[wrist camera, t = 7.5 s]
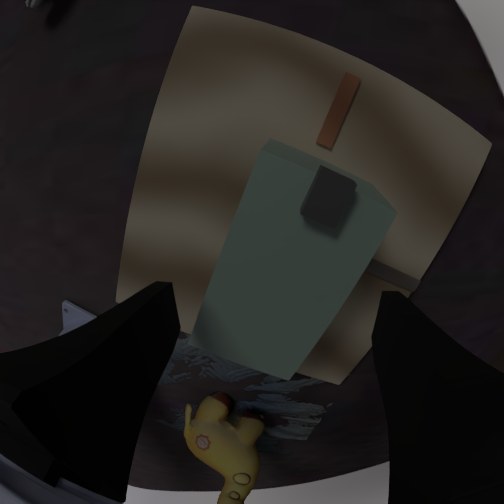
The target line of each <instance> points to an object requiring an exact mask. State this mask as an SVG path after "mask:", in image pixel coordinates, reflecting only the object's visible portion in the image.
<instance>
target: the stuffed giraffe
mask: <svg viewBox="0 0 504 504" xmlns="http://www.w3.org/2000/svg"><path fill="white" fill-rule="evenodd" d="M185 334H186V333H185ZM186 335H187V336H188V338H186V339H185V340H180V339H179V338H178V339H177V342H176V345H175V348H174V351H173V353H172V355H171V357H170V360H169V362H168V364H167V366H166V368H165V370H164V372H163V374H162V376H161V378H160V381H159V383H158V385H160V384H161V383H163V382H164V383H165V384H168V383H167V382H169V383H171V384H172V382H171V381H173V382H174V383H176V384H178V383H177V382H176V381H175V380H176V379H178V378H180V377H181V376H185V375H188V374H186V373H182V374H181V375H177V374H176V375H177V376H176V375H174V376H173V377H174V378H173V379H175V380H173V379H172V378H170V377H169V376H168V374H167V373H170V371H171V370H170V369H172V370H173V368H171V367H175V364H174V363H171V361H172V359H173V358H174V359H176V360H181V359H184V360H187V361H184V363H188V360H190V359H191V358H188V356H192V355H195V356H197V357H196V358H195V359H192V360H191V362H196V361H198V362H197V363H193V364H194V365H200V366H201V364H206V365H209V364H207V362H209V360H210V359H212V360H214V361H216V364H215V363H213V362H211V363H210V365H212V366H213V367H214V369H215V370H216V371H217V372H216V371H214V370H213V369H211V368H210V367H207V368H205V366H204V367H203V366H202V367H203V368H202V370H204V371H205V370H207V369H208V370H209V371H210V372H211V373H213V374H214V375H215V376H217V377H219V378H220V379H221V380H223V381H225V382H227V380H228V381H229V382H231V383H234V382H238V381H241V380H243V379H245V378H250V377H253V376H257V375H260V374H262V373H263V372H259V371H258V370H255V369H252V368H249V367H246V366H243V365H241V364H238V363H235V362H232V361H230V360H227V359H224V358H222V357H219V356H216V355H214V354H211V353H209V352H206V351H203V350H201V349H198V348H196V347H193V346H191V345H189V344H188V342H189V339H190V336H191V335H189V334H186ZM200 355H204V356H207V357H210V359H208V358H207V359H206V360H201V359H200V358H201V357H203V356H200ZM200 363H201V364H200ZM171 364H172V365H171ZM220 365H221V366H222V368H223V369H222V368H221V367H220ZM190 366H192V364H190V365H189V367H190ZM189 367H188V368H189ZM229 369H231V371H229ZM225 371H227V372H225ZM176 372H177V371H176ZM195 372H196V371H195ZM205 372H206V371H205ZM188 373H189V372H188ZM211 373H209V372H206V374H210V376H211V377H213V378H216V377H214V376H213V375H211ZM218 373H219V374H220V375H219V374H218ZM224 373H225V374H224ZM189 374H192V373H189ZM200 375H203V376H204V377H206V378H207V375H204V374H203V371H202V373H200V374H199V376H200ZM221 375H222V376H221ZM350 375H352V374H348V375H347V376H350ZM166 377H167V378H168V379H169V380H171V381H169V380H168V379H167V378H166ZM187 378H188V379H190V378H191V377H187ZM163 379H164V380H166V381H167V382H166V381H164V380H163ZM200 379H202V377H201V378H200ZM226 379H227V380H226ZM233 379H234V380H233ZM183 380H184V379H182V380H181V381H183ZM279 380H281V378H279V377H276V376H273V375H268V377H264V380H263V381H264V382H266V383H268V384H264V383H263V382H261V384H262V386H261V387H259V386H256V385H251V386H248V387H247V388H244V390H246V392H248V391H255V390H256V391H257V390H258V391H262V392H267V393H271V394H260V395H258V398H259V399H257V398H256V400H257V401H253V402H248V401H238V402H234V401H233V400H232V399H231V398H230V397H229V396H228V395H227V394H226V393H224V392H222V391H217V392H214V393H212V394H210V395H208V396H206V397H205V399H204V400H203V401H202V402H201V404H200V406H198V405H197V403H195V404H196V405H193V404H192V405H193V406H195V408H198V411H197V413H196V414H195V415H194V416H191V412H192V406H191V405H190V404H189V403H188V404H186V406H184V407H186V412H185V414H183V411H184V410H185V409H184V410H183V409H181V411H180V410H179V409H177V408H175V409H176V410H177V411H175V410H174V409H172V408H170V409H171V410H172V411H175V413H177V412H179V413H181V414H177V415H176V416H177V417H178V418H177V419H178V420H177V419H175V420H176V422H175V424H174V423H173V422H172V424H170V423H168V422H167V421H165V420H156V421H157V422H159V423H162V424H164V425H167V426H169V427H172V428H175V429H178V430H180V431H182V432H184V437H185V439H186V443H187V446H188V448H189V449H190V450H191V452H192V453H193V454H194V455H195V456H196V457H197V458H198V459H200V460H201V461H202V462H204V463H205V464H207V465H208V466H210V467H212V468H213V469H215V470H216V471H218V472H219V473H221V474H222V475H223V476H224V478H225V484H224V487H223V489H222V491H221V494H220V495H219V498H218V501H217V504H244V500H245V499H246V497H247V496H248V495H249V493H250V491H251V490H252V489H253V488H254V486H255V483H256V480H257V477H258V474H259V470H260V456H259V452H271V453H278V454H288V455H292V454H291V453H293V451H290V450H288V451H287V450H285V449H283V450H281V449H280V446H279V445H278V446H273V445H275V444H279V443H278V442H277V440H278V439H279V440H282V439H284V440H291V441H295V440H297V441H298V440H300V441H302V440H303V441H304V440H305V441H306V440H307V438H308V436H309V435H310V434H311V432H312V430H313V429H314V428H315V427H314V426H315V425H316V426H317V424H319V423H320V421H321V419H322V418H318V419H317V418H314V419H315V420H313V419H310V417H309V416H311V415H313V417H314V416H318V414H322V413H323V412H327V411H324V408H323V406H319V405H313V404H311V403H308V404H305V403H304V402H302V403H296V402H297V401H289V402H288V401H287V400H289V399H291V398H288V399H284V398H286V397H287V396H283V395H282V394H288V393H290V392H292V391H293V392H294V391H299V390H298V389H300V388H302V387H305V386H312V385H313V384H319V383H323V382H326V381H324V380H320V379H317V378H313V377H312V378H311V379H301V380H298V381H286V382H280V383H277V381H279ZM161 381H163V382H161ZM218 381H219V380H218ZM179 382H180V381H179ZM220 382H221V381H220ZM221 384H222V383H221ZM172 385H173V384H172ZM241 390H243V389H241ZM279 394H280V395H279ZM253 396H254V395H253ZM281 396H283V397H281ZM299 401H300V400H299ZM294 402H295V403H294ZM293 403H294V404H293ZM332 404H333V403H330V404H328V405H327V407H329V406H331V405H332ZM327 407H326V408H327ZM170 409H169V410H170ZM171 410H170V411H171ZM252 410H255V411H252ZM321 410H322V411H321ZM172 411H171V412H172ZM257 411H261V412H257ZM317 412H318V414H317ZM265 414H282V415H284V416H285V415H289V416H290V417H282V419H286V420H289V421H288V422H289V424H290V425H288V424H287V425H288V426H286V427H282V426H283V425H278V426H274V427H273V428H270V427H264V425H265V424H264V421H263V418H264V415H265ZM296 415H298V416H296ZM293 416H294V417H296V418H292V417H293ZM298 417H300V418H298ZM306 418H308V419H306ZM319 419H320V420H319ZM293 423H295V424H293ZM299 424H300V425H299ZM307 424H309V425H311V426H312V425H314V426H312V427H303V426H302V425H305V426H308V425H307ZM278 447H279V448H278ZM258 451H259V452H258Z"/></svg>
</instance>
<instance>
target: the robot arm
mask: <svg viewBox="0 0 504 504" xmlns="http://www.w3.org/2000/svg"><path fill="white" fill-rule="evenodd" d="M62 311H63V325H64V330H63V331H62V332H61V333H60V334H59V335H58V336H57V337H55V338H52V339H50V340H47V341H44V342H42V343H39V344H36V345H33V346H29V347H26V348H22V349H18V350H14V351H10V352H5V353H0V504H122V503H124V502H125V500H126V493H127V486H128V480H129V474H130V469H131V465H132V460H133V455H134V451H135V447H136V443H137V440H138V436H139V432H140V429H141V426H142V422H143V419H144V416H145V413H146V410H147V407H148V405H149V402H150V400H151V397H152V395H153V393H154V391H155V389H156V387H157V385H158V383H159V381H160V378H161V376H162V374H163V372H164V370H165V368H166V366H167V364H168V362H169V360H170V357H171V355H172V353H173V351H174V348H175V345H176V342H177V339H178V335H179V332H180V329H181V326H180V321H179V316H178V311H177V306H176V301H175V295H174V290H173V284H172V282H163V281H156V282H154V283H152V284H150V285H148V286H147V287H145V288H143V289H142V290H140V291H138V292H137V293H135V294H134V295H132V296H131V297H129V298H127V299H126V300H124V301H123V302H121V303H120V304H118V305H116V306H115V307H113V308H112V309H110V310H108V311H107V312H105V313H103V314H101V315H100V316H98V317H97V316H95V315H93V314H91V313H89V312H88V311H86V310H84V309H82V308H80V307H78V306H76V305H74V304H73V303H71V302H69V301H67V300H65V301H64V302H63V303H62ZM371 340H372V349H373V358H374V364H375V368H376V372H377V377H378V381H379V385H380V389H381V394H382V398H383V403H384V407H385V412H386V417H387V424H388V437H389V461H390V476H389V498H388V504H504V373H502V372H500V371H499V370H497V369H495V368H494V367H492V366H490V365H489V364H487V363H485V362H484V361H482V360H481V359H479V358H478V357H476V356H475V355H473V354H472V353H471V352H469V351H468V350H466V349H465V348H464V347H462V346H461V345H460V344H458V343H457V342H456V341H455V340H454V339H452V338H451V337H450V336H449V335H448V334H446V333H445V332H444V331H443V330H442V329H441V328H439V327H438V326H437V325H436V324H435V323H434V322H433V321H432V320H430V319H429V318H428V317H427V316H426V315H425V314H424V313H423V312H422V311H421V310H420V309H419V308H418V307H416V306H415V305H414V304H413V303H412V302H411V301H410V300H409V299H408V298H407V297H405V296H404V295H403V294H402V293H401V292H399V291H382V294H381V298H380V303H379V307H378V312H377V316H376V320H375V324H374V328H373V332H372V336H371Z"/></svg>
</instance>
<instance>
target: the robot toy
mask: <svg viewBox="0 0 504 504" xmlns="http://www.w3.org/2000/svg"><path fill="white" fill-rule="evenodd" d="M43 1H44V0H26V5H27V6H28V7H31V8H37V7H39V6H40V5H41V3H42V2H43Z"/></svg>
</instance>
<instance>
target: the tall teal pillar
mask: <svg viewBox="0 0 504 504" xmlns="http://www.w3.org/2000/svg"><path fill="white" fill-rule="evenodd" d="M397 213H398V212H397V211H396V210H395V209H394V208H393V207H392V205H391V204H390V203H389V202H388V201H387V200H386V199H385V198H384V196H383V195H382V194H381V193H380V192H379V191H378V190H377V189H376V188H375V186H374V185H373V184H371V183H369V182H367V181H365V180H363V179H361V178H359V177H357V176H355V175H353V174H351V173H349V172H347V171H345V170H343V169H341V168H338V167H336V166H334V165H332V164H330V163H328V162H326V161H323V160H321V159H319V158H317V157H314V156H312V155H310V154H308V153H305V152H303V151H301V150H298V149H296V148H294V147H291V146H289V145H286V144H284V143H282V142H279V141H277V140H274V139H272V138H270V139H269V140H268V142H267V143H266V144H265V145H264V146H263V147H262V148H261V150H260V152H259V155H258V157H257V160H256V162H255V165H254V167H253V170H252V172H251V175H250V177H249V180H248V182H247V185H246V188H245V190H244V193H243V195H242V198H241V200H240V203H239V206H238V208H237V211H236V213H235V216H234V219H233V221H232V224H231V226H230V229H229V232H228V234H227V237H226V240H225V242H224V245H223V248H222V250H221V253H220V256H219V258H218V261H217V264H216V266H215V269H214V272H213V275H212V277H211V280H210V283H209V286H208V288H207V291H206V294H205V297H204V299H203V302H202V305H201V308H200V310H199V313H198V316H197V319H196V322H195V325H194V327H193V330H192V333H191V336H190V339H189V342H188V344H189V345H191V346H193V347H196V348H198V349H201V350H203V351H206V352H209V353H211V354H214V355H216V356H219V357H222V358H224V359H227V360H230V361H232V362H235V363H238V364H241V365H243V366H246V367H249V368H252V369H255V370H258V371H261V372H264V373H267V374H270V375H273V376H276V377H279V378H282V379H285V380H288V381H289V380H290V378H291V377H292V376H293V374H294V373H295V372H296V371H297V369H298V368H299V366H300V365H301V364H302V362H303V361H304V360H305V358H306V357H307V356H308V354H309V353H310V352H311V350H312V349H313V347H314V346H315V345H316V343H317V342H318V340H319V339H320V337H321V336H322V335H323V333H324V332H325V330H326V329H327V327H328V326H329V325H330V323H331V322H332V320H333V319H334V317H335V316H336V314H337V313H338V311H339V310H340V308H341V307H342V305H343V304H344V302H345V301H346V299H347V297H348V296H349V294H350V293H351V291H352V290H353V288H354V287H355V285H356V283H357V282H358V280H359V279H360V277H361V275H362V274H363V272H364V271H365V269H366V267H367V266H368V264H369V262H370V261H371V259H372V257H373V256H374V254H375V252H376V251H377V249H378V247H379V245H380V244H381V242H382V240H383V238H384V237H385V235H386V233H387V231H388V230H389V228H390V226H391V224H392V222H393V221H394V219H395V217H396V215H397Z"/></svg>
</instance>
